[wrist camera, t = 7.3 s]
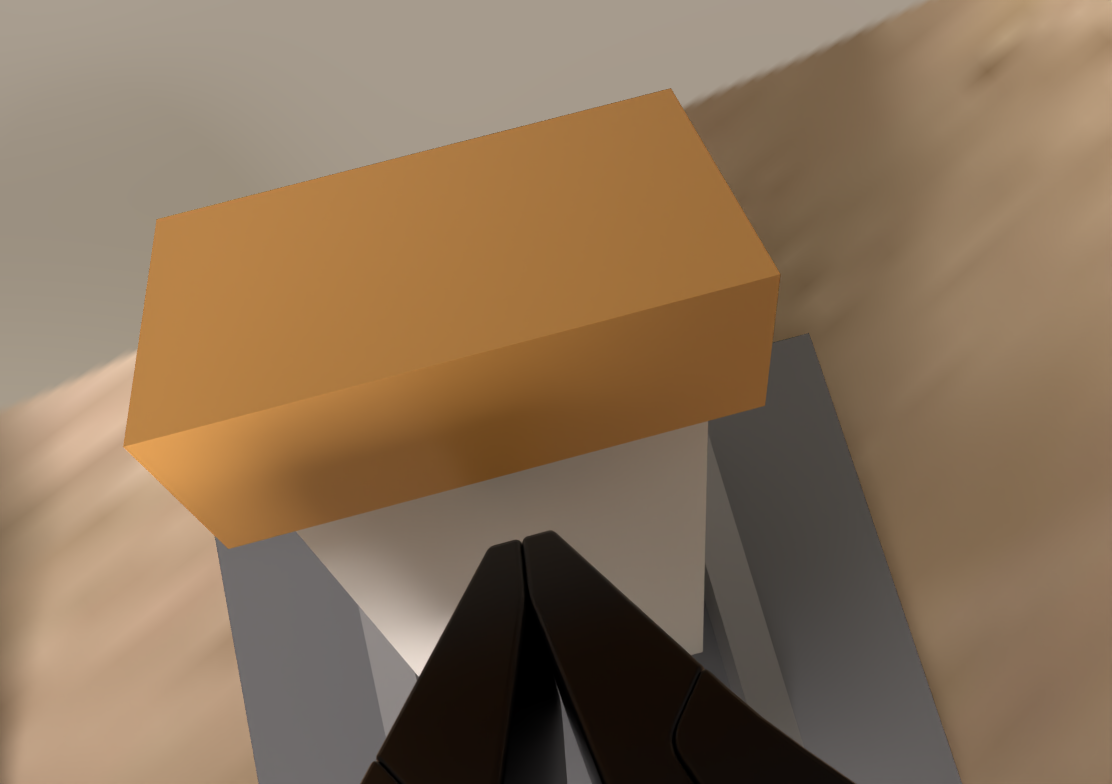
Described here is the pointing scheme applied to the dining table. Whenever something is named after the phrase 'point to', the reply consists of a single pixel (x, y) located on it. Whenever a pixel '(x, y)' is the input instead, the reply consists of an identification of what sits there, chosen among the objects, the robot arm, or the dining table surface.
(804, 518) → the box
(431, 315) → the lever
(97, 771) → the dining table surface
